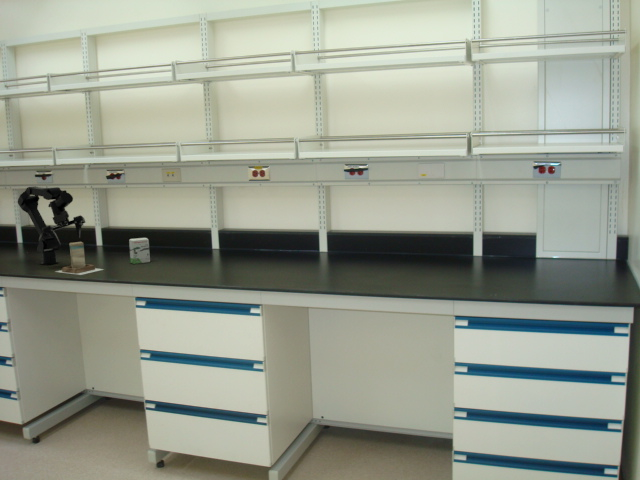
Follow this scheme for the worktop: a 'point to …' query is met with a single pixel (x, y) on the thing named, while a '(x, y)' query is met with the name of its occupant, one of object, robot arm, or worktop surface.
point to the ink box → (139, 250)
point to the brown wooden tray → (79, 270)
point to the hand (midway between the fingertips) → (69, 241)
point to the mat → (82, 272)
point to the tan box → (77, 255)
